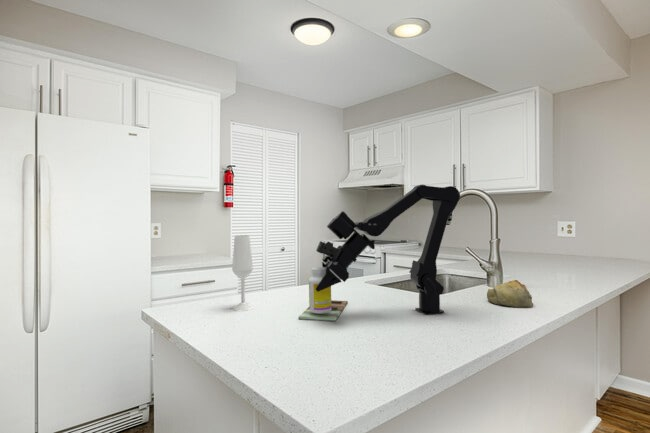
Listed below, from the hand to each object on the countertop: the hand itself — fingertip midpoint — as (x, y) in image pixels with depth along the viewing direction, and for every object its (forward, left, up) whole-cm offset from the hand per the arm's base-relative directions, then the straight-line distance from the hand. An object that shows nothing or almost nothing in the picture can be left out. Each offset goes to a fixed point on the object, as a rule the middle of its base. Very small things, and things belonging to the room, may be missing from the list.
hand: (315, 288), depth 110 cm
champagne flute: (+19, +20, -9) cm, 28 cm away
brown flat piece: (+5, -5, -9) cm, 11 cm away
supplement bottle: (0, -1, -7) cm, 7 cm away
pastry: (-8, -65, -9) cm, 66 cm away
